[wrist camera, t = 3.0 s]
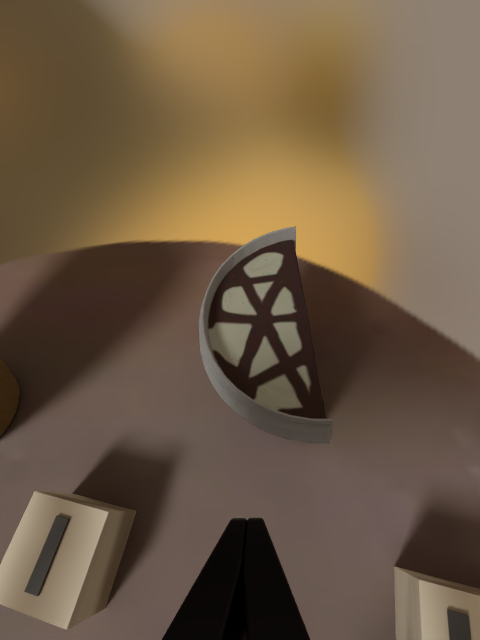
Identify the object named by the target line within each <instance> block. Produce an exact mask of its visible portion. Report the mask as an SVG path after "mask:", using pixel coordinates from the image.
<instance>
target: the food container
mask: <svg viewBox="0 0 480 640" xmlns="http://www.w3.org/2000/svg"><path fill="white" fill-rule="evenodd" d="M295 249H296V227H290V228H285V229H280V230H277V231H273V232H270V233H267V234H265V235H263V236H260V237H258V238H256V239H254V240H252V241H250V242H249V243H247V244H245V245H244V246H242V247H241V248H239V249H238V250H237V251H236V252H234V253H233V254H232V255H231V256H230V257H229V258H228V259H227V260H226V261H225V262H224V263H223V264H222V265H221V266H220V268H219V269H218V271H217V272H216V273H215V275H214V276H213V278H212V280H211V282H210V284H209V286H208V288H207V291H206V294H205V296H204V300H203V303H202V306H201V310H200V319H199V336H200V351H201V356H202V360H203V364H204V368H205V370H206V372H207V374H208V377H209V379H210V381H211V383H212V385H213V386H214V388H215V389H216V391H217V392H218V394H219V395H220V397H221V398H222V399H223V400H224V401H225V402H226V403H227V404H228V405H229V406H230V407H231V408H232V410H233V411H235V412H236V413H237V414H239V415H240V416H241V417H243V418H244V419H245V420H246V421H248V422H249V423H251V424H253V425H255V426H256V427H258V428H260V429H262V430H264V431H266V432H268V433H271V434H274V435H277V436H280V437H282V438H285V439H289V440H294V441H300V442H306V443H330V438H331V433H332V428H331V424H332V422H333V420H332V419H326V416H325V411H324V402H323V399H322V396H321V391H320V386H319V380H318V374H317V368H316V362H315V357H314V351H313V346H312V340H311V333H310V327H309V321H308V314H307V309H306V304H305V299H304V295H303V289H302V284H301V278H300V273H299V267H298V262H297V256H296V251H295Z"/></svg>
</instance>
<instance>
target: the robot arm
mask: <svg viewBox="0 0 480 640" xmlns="http://www.w3.org/2000/svg"><path fill="white" fill-rule="evenodd" d="M162 640H310V638H309V635H308V633H307V630H306V627H305V625H304V622H303V620H302V617H301V615H300V612H299V610H298V607H297V604H296V602H295V599H294V597H293V594H292V592H291V589H290V586H289V584H288V581H287V579H286V576H285V574H284V571H283V569H282V566H281V563H280V561H279V558H278V556H277V553H276V551H275V548H274V545H273V543H272V540H271V538H270V535H269V533H268V530H267V528H266V525H265V522H264V520H263V519H262V518H249V519H248V520H246V519H245V518H233V519H231V520H230V522H229V524H228V525H227V527H226V529H225V531H224V532H223V534H222V536H221V538H220V539H219V541H218V543H217V545H216V546H215V548H214V550H213V551H212V553H211V555H210V557H209V558H208V560H207V562H206V564H205V565H204V567H203V569H202V571H201V572H200V574H199V576H198V578H197V579H196V581H195V583H194V584H193V586H192V588H191V590H190V591H189V593H188V595H187V597H186V598H185V600H184V602H183V604H182V605H181V607H180V609H179V610H178V612H177V614H176V616H175V617H174V619H173V621H172V623H171V624H170V626H169V628H168V630H167V631H166V633H165V635H164V637H163V638H162Z"/></svg>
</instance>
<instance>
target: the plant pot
mask: <svg viewBox="0 0 480 640" xmlns="http://www.w3.org/2000/svg"><path fill="white" fill-rule="evenodd" d="M19 397H20V390H19V385H18V383H17V381H16V379H15V377H14V376H13V374H12V372H11V371H10V370H9V368H8V367H7V365H6V364H5V362H4V361H3V360H2V359H1V357H0V436H1V435H2V434H3V433H4V431H5V430H6V429H7V427H8V426H9V424H10V423H11V421H12V419H13V417H14V415H15V413H16V410H17V407H18V403H19Z"/></svg>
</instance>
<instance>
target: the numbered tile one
mask: <svg viewBox="0 0 480 640" xmlns="http://www.w3.org/2000/svg"><path fill="white" fill-rule="evenodd" d="M136 512H137V511H134V510H131V509H127V508H124V507H120V506H116V505H113V504H109V503H105V502H102V501H98V500H94V499H91V498H87V497H84V496H80V495H76V494H73V493H57V492H40V491H35V492H34V494H33V496H32V498H31V500H30V502H29V504H28V507H27V509H26V511H25V513H24V515H23V517H22V519H21V522H20V524H19V526H18V528H17V530H16V532H15V534H14V537H13V539H12V541H11V543H10V545H9V547H8V549H7V552H6V554H5V556H4V558H3V560H2V562H1V564H0V604H1V605H3V606H6V607H9V608H11V609H14V610H16V611H19V612H22V613H24V614H27V615H29V616H32V617H35V618H37V619H40V620H42V621H45V622H47V623H50V624H53V625H55V626H58V627H60V628H63V629H66V630H67V629H69V628H71V627H73V626H74V625H76V624H78V623H80V622H82V621H83V620H85V619H87V618H89V617H90V616H92V615H94V614H96V613H98V612H99V611H101V610H103V609H105V608H106V605H107V602H108V599H109V596H110V593H111V590H112V587H113V584H114V580H115V577H116V574H117V571H118V568H119V565H120V562H121V558H122V555H123V552H124V549H125V546H126V543H127V540H128V537H129V533H130V530H131V527H132V524H133V521H134V518H135V515H136Z"/></svg>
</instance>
